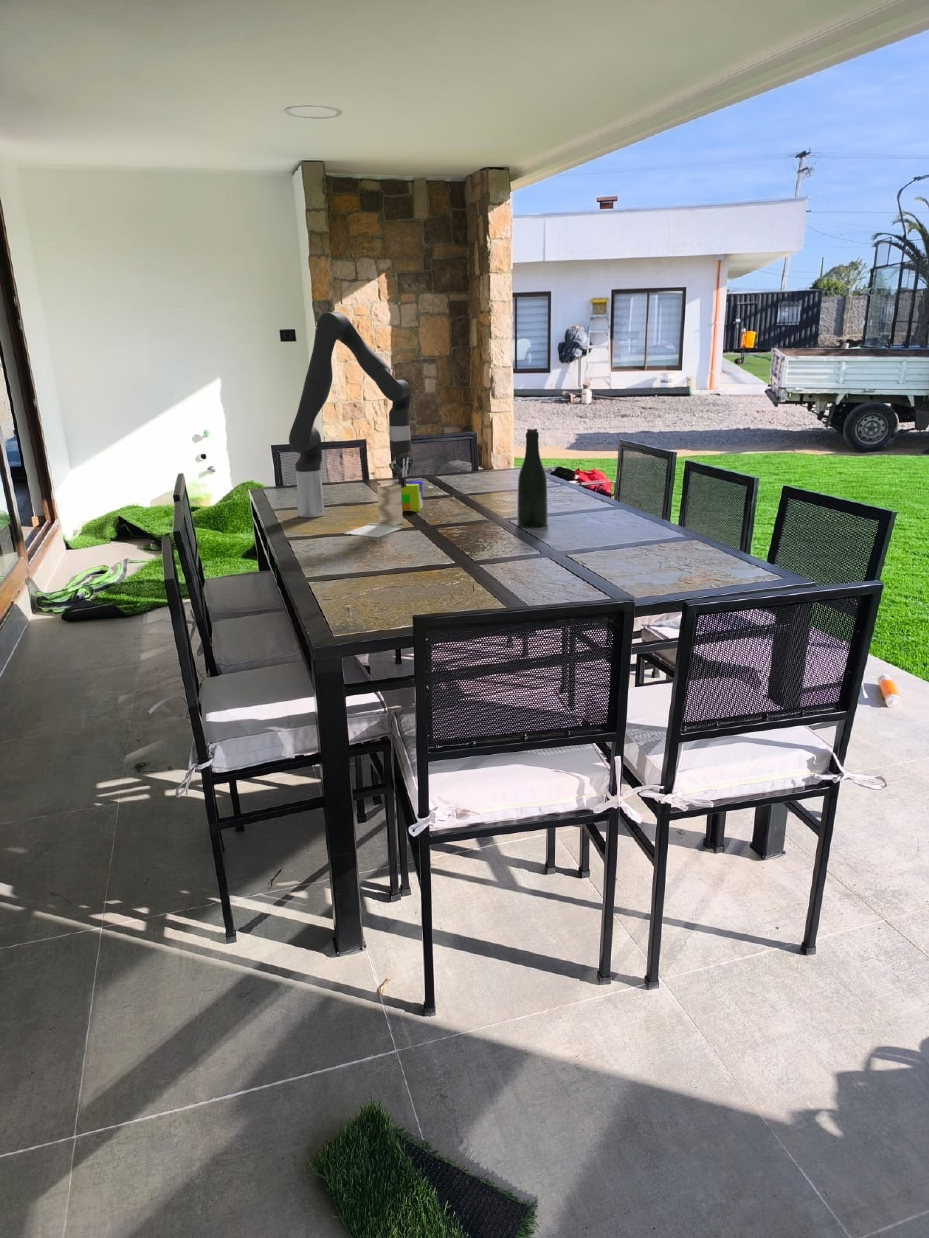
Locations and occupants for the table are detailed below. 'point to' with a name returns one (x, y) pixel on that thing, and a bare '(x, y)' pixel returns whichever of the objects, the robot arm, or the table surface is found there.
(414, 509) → the puzzle toy
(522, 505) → the green wine bottle
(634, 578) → the table surface
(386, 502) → the maple block
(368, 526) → the mat
